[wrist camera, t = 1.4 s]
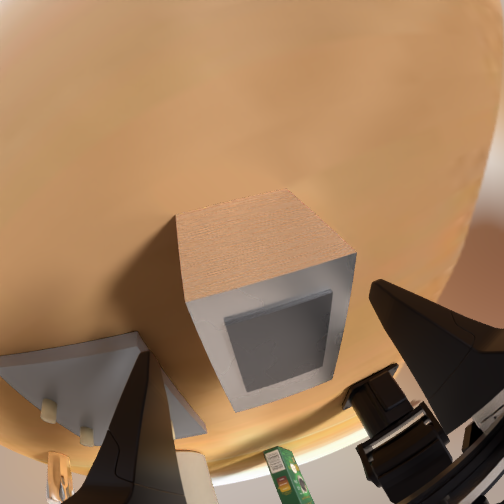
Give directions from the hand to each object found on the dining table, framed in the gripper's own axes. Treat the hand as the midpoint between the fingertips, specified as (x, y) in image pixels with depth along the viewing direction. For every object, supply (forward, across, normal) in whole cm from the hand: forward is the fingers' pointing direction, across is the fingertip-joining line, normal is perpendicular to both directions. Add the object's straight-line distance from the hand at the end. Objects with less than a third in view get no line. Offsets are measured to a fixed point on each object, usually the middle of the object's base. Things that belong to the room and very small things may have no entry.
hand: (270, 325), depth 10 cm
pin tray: (+3, +12, +9) cm, 15 cm away
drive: (+4, 0, 0) cm, 4 cm away
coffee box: (+4, 0, +37) cm, 37 cm away
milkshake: (+4, +30, +24) cm, 39 cm away
